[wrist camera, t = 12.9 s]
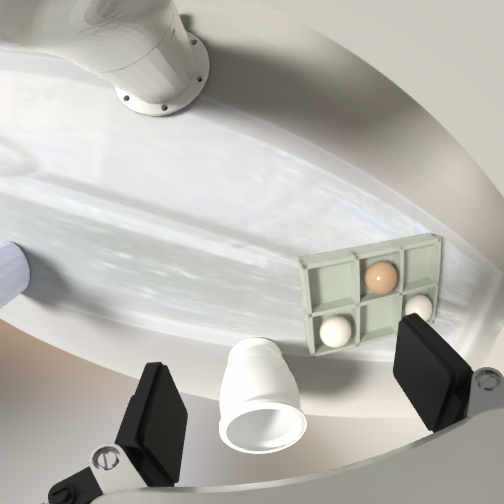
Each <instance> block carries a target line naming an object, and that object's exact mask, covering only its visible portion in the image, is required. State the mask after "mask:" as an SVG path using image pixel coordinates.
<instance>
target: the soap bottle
mask: <svg viewBox="0 0 504 504" xmlns="http://www.w3.org/2000/svg"><path fill="white" fill-rule="evenodd" d="M29 280H30V269H29V265H28V261H27V259H26V257H25V255H24V253H23V252H22V250H21V249H20V248H19V247H18V246H17V245H15V244H14V243H12V242H4V243H1V244H0V309H1V308H2V307H3V306H5V305H6V304H7V303H8V302H10V301H11V300H12V299H14V298H15V297H16V296H17V295H19V294H20V293H21V292H23V291H24V290H25V289H26V288H27V286H28V283H29Z"/></svg>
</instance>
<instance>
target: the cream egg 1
mask: <svg viewBox="0 0 504 504" xmlns="http://www.w3.org/2000/svg"><path fill="white" fill-rule="evenodd" d="M351 333H352V329H351V325H350V323H349V322H348V321H347V320H346V319H345V318H343V317H341V316H331V317H329V318H327V319H326V320H325V321H324V322H323V323H322V325H321V327H320V338H321V340H322V342H323V343H324V344H325V345H327V346H329V347H332V348H338V347H341V346H343V345H345V344H346V343H347V342H348V341H349V339H350V337H351Z"/></svg>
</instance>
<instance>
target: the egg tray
mask: <svg viewBox="0 0 504 504" xmlns="http://www.w3.org/2000/svg"><path fill="white" fill-rule="evenodd" d="M297 259H298V267H299V275H300V284H301V293H302V302H303V312H304V322H305V332H306V343H307V348H308V350H309V353H310V356H311V358H312V357H317V356H321V355H326V354H330V353H334V352H338V351H342V350H346V349H350V348H354V347H358V346H362V345H365V344H369V343H373V342H376V341H380V340H383V339H386V338H390V337H393V336H396V335H397V334H398V324H399V321H401V320H402V317H403V316H405V305H406V303H407V301H408V300H409V299H410V298H411V297H412V296H414V295H418V294H421V295H424V296H426V297H427V298H429V300H430V301H431V304H432V313H431V316H430V317H429V319H428V320H427V321H426V322H427V323H428V324H429V325H430V324H432V323H434V319H435V312H436V304H437V296H438V286H439V275H440V260H441V237H438V236H436V235H434V234H432V233H425V234H420V235H415V236H409V237H404V238H399V239H394V240H389V241H384V242H379V243H373V244H368V245H363V246H357V247H352V248H347V249H341V250H336V251H331V252H325V253H320V254H314V255H309V256H304V257H298V258H297ZM376 261H386V262H388V263H390V264H391V265H392V266H393V267H394V268H395V270H396V273H397V281H396V284H395V286H394V288H393V289H392V290H391V291H390V292H388V293H386V294H381V295H379V294H375V293H373V292H371V291H370V290H369V289H368V287H367V286H366V283H365V273H366V270H367V268H368V267H369V266H370V265H371V264H372V263H374V262H376ZM331 316H341V317H343V318H345V319H346V320H347V321H348V322H349V323H350V325H351V329H352V333H351V337H350V339H349V341H348V342H347V343H346V344H345V345H343V346H341V347H338V348H332V347H329V346H327V345H325V344H324V343H323V342H322V340H321V338H320V327H321V325H322V323H323V322H324V321H325V320H326V319H327V318H329V317H331Z"/></svg>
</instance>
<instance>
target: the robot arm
mask: <svg viewBox="0 0 504 504" xmlns="http://www.w3.org/2000/svg"><path fill="white" fill-rule="evenodd" d="M194 43H196V44H195V45H193V44H194ZM0 48H2V49H9V50H18V51H31V52H41V53H47V54H51V55H54V56H57V57H60V58H62V59H65V60H67V61H69V62H71V63H73V64H75V65H77V66H79V67H81V68H83V69H85V70H87V71H89V72H90V73H92V74H94V75H96V76H98V77H100V78H101V79H103V80H105V81H107V82H108V83H110V84H112V85H114V86H115V91H116V93H117V95H118V98H119V99H120V100H121V102H122V103H123V104H124V105H125V106H126V107H127V108H129V109H130V110H132V111H134V112H136V113H139V114H141V115H146V116H163V115H168V114H171V113H174V112H176V111H179V110H180V109H182V108H184V107H186V106H187V105H188V104H190V103H191V102H192V101H193V100H194V99H195V98H196V97H197V96H198V95H199V94H200V93H201V91H202V89H203V88H204V86H205V84H206V82H207V79H208V76H209V70H210V62H209V56H208V53H207V50H206V48H205V46H204V45H203V43H202V42H201V41H200V40H199V39H198V38H197V37H196V36H195V35H193V34H191V33H189V32H187V31H185V29H184V26H183V24H182V21H181V19H180V16H179V14H178V11H177V9H176V6H175V4H174V1H173V0H0ZM199 79H202V81H201V82H198V80H199ZM128 98H130V99H129V100H128V101H127V99H128ZM166 107H168V109H167V110H165V108H166ZM393 374H394V377H395V379H396V380H397V382H398V383H399V385H400V386H401V388H402V389H403V391H404V392H405V394H406V396H407V397H408V399H409V400H410V402H411V403H412V405H413V407H414V408H415V410H416V411H417V413H418V414H419V416H420V418H421V419H422V421H423V422H424V424H425V426H426V427H427V429H428V430H430V431H431V430H432V431H433V434H431V435H429V436H426V437H424V438H422V439H420V440H417V441H415V442H413V443H410V444H408V445H405V446H403V447H400V448H398V449H395V450H392V451H389V452H387V453H384V454H381V455H378V456H376V457H372V458H369V459H366V460H363V461H360V462H356V463H353V464H350V465H346V466H342V467H339V468H334V469H331V470H327V471H322V472H318V473H313V474H309V475H304V476H299V477H293V478H288V479H281V480H275V481H268V482H260V483H251V484H241V485H228V486H208V487H174V484H175V483H178V481H179V475H180V468H181V460H182V453H183V445H184V439H185V432H186V425H187V418H188V414H187V410H186V408H185V406H184V403H183V401H182V399H181V397H180V395H179V392H178V390H177V388H176V386H175V383H174V381H173V379H172V376H171V374H170V372H169V369H168V367H167V366H166V365H163V364H162V363H161V362H153V363H147V364H146V366H145V368H144V371H143V373H142V376H141V379H140V381H139V384H138V387H137V389H136V392H135V395H133V396H132V397H131V399H130V401H129V404H128V407H127V409H126V412H125V415H124V418H123V421H122V423H121V426H120V429H119V432H118V434H117V438H116V440H115V443H114V444H112V443H106V444H102V445H99V446H98V447H96V448H95V449H94V450H93V451H92V452H91V454H90V456H89V465H90V466H89V467H87V468H85V469H83V470H82V471H80V472H78V473H76V474H74V475H72V476H70V477H68V478H67V479H65V480H63V481H61V482H59V483H57V484H55V485H54V486H53V487H52V488H51V489H50V491H49V494H48V500H49V502H48V503H47V504H504V377H503V375H502V374H501V373H500V372H499V371H498V370H496V369H494V368H490V367H483V368H480V369H478V370H476V371H475V372H473V370H472V369H471V367H470V366H469V365H468V364H467V363H466V361H465V360H464V359H463V358H462V357H461V356H460V355H459V354H458V353H457V352H456V351H455V350H454V349H453V348H452V347H451V346H450V345H449V344H448V343H447V342H446V341H445V340H444V339H443V338H442V337H441V336H440V335H439V334H438V333H437V332H436V331H435V330H434V329H433V328H432V327H431V326H430V325H429V324H428V323H427V322H425V321H424V320H423V319H422V318H421V317H420V316H419V315H418V314H417V313H412V314H409V315H405V316H403V317H402V320H401V321H399V324H398V334H397V343H396V352H395V359H394V366H393ZM42 504H46V503H44V502H43V503H42Z"/></svg>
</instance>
